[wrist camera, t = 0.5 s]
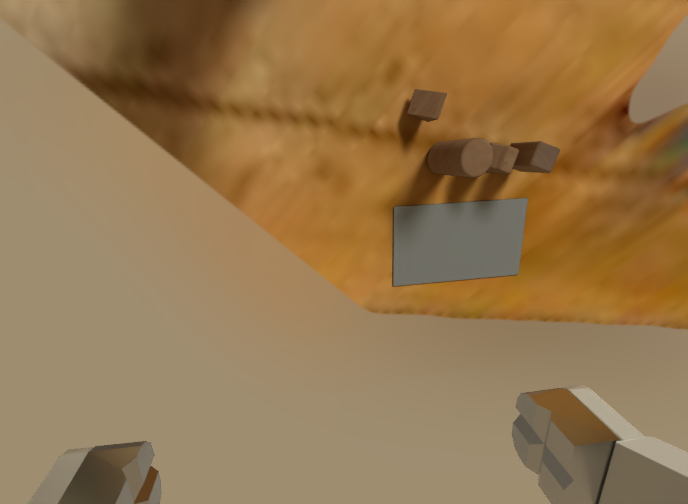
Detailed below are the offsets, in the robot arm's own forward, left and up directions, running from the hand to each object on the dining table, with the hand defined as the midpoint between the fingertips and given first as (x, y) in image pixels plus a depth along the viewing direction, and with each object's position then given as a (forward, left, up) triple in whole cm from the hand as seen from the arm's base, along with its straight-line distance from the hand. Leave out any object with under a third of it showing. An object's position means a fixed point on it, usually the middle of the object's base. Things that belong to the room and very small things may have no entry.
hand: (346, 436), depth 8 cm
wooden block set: (-3, +22, -44) cm, 49 cm away
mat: (+11, +23, -44) cm, 51 cm away
